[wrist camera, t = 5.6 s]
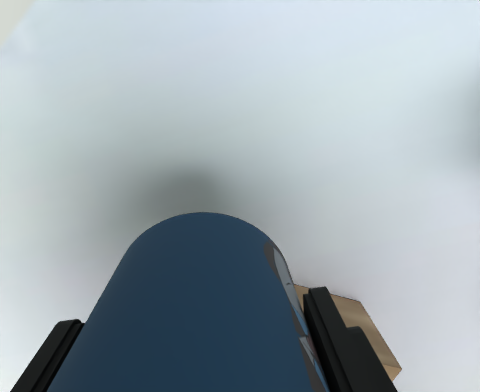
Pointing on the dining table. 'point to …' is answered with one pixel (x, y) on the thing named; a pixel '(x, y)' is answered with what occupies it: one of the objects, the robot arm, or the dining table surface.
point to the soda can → (196, 317)
